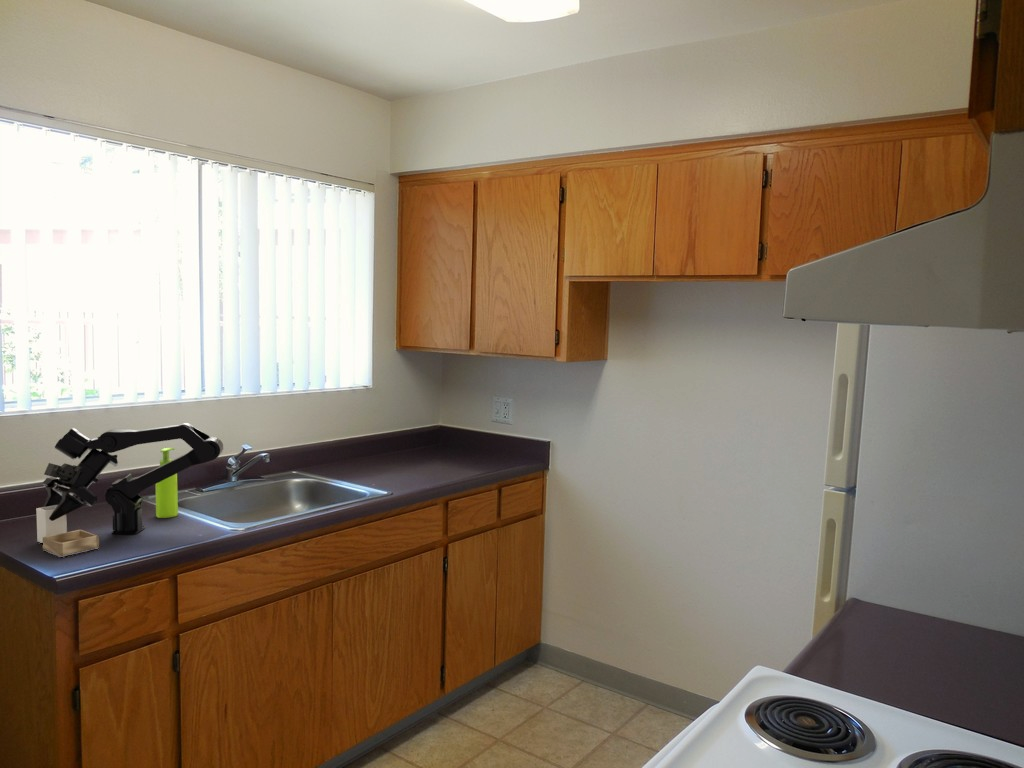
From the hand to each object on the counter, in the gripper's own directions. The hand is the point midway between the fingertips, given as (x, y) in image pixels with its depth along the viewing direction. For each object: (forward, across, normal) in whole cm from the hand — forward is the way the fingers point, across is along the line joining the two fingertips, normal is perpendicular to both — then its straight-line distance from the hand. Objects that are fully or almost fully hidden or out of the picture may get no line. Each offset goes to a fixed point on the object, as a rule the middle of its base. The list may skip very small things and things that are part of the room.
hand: (45, 518), depth 194 cm
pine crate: (+4, +11, +6) cm, 13 cm away
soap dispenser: (-20, -3, +30) cm, 36 cm away
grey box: (+4, 0, +6) cm, 7 cm away
